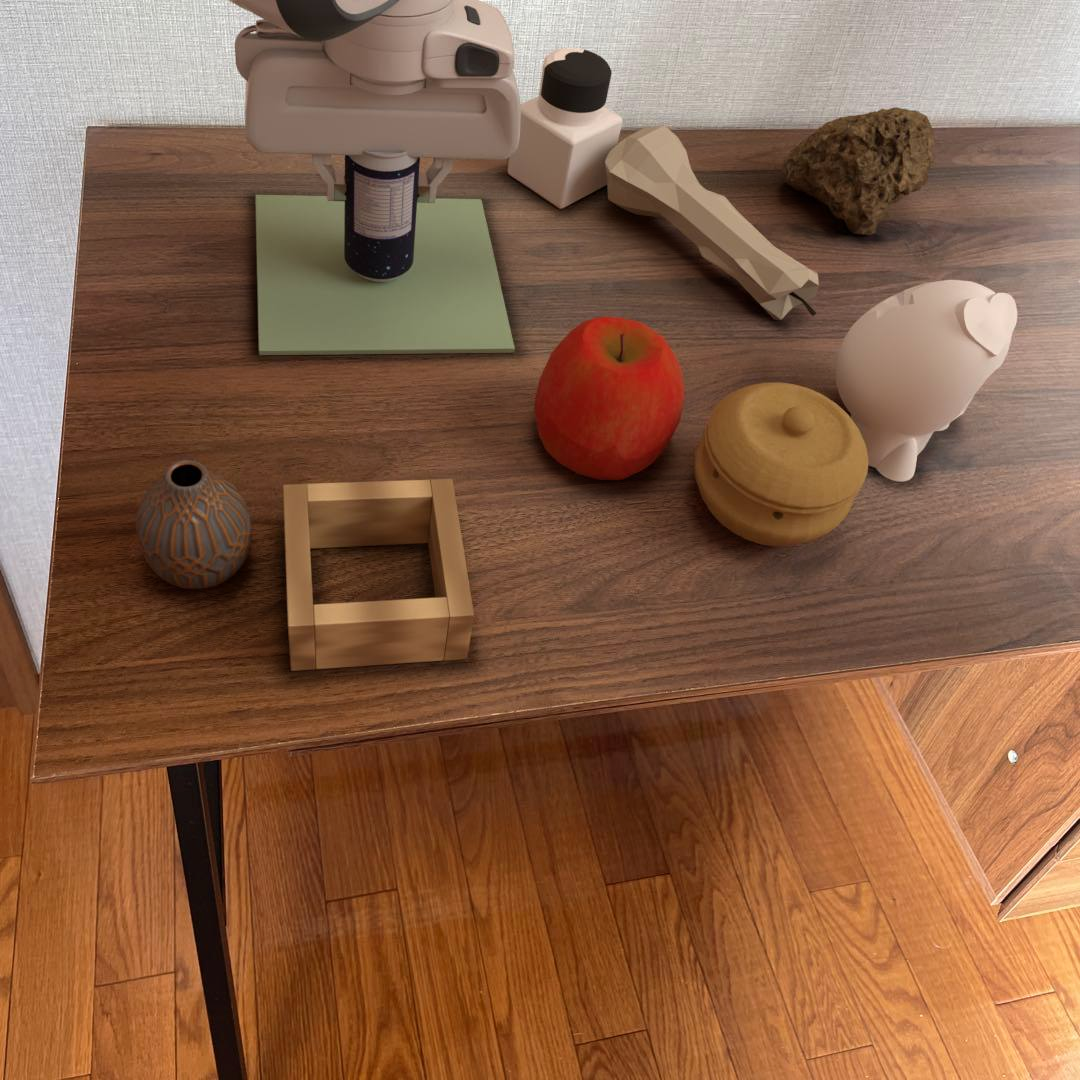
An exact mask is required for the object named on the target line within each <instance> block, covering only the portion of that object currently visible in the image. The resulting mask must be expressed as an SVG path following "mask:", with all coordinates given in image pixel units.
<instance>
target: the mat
mask: <svg viewBox="0 0 1080 1080" xmlns="http://www.w3.org/2000/svg"><path fill="white" fill-rule="evenodd" d="M254 197H255V198H254V199H255V201H254V202H255V243H256V245H255V247H256V285H257V286H256V287H257V289H256V291H257V294H256V295H257V333H258V335H257V336H258V339H257V340H258V341H257V342H258V356H316V355H317V356H322V355H323V356H324V355H325V356H328V355H329V356H330V355H333V356H334V355H337V356H338V355H417V354H418V355H424V354H425V355H427V354H428V355H429V354H431V355H432V354H436V355H437V354H442V355H443V354H509V353H510V354H514V353H515V351H516V348H515V343H514V339H513V335H512V331H511V325H510V322H509V317H508V313H507V308H506V305H505V304H506V303H505V299H504V295H503V291H502V285H501V281H500V277H499V273H498V268H497V264H496V258H495V253H494V249H493V245H492V241H491V237H490V236H491V235H490V233H489V228H488V223H487V217H486V215H485V210H484V206H483V201H482V198H446V197H445V198H443V197H441V198H440V197H439V198H438V197H436V199H435V203H417V212H416V227H415V242H414V258H413V264H412V266H411V268H410V269H409V270H408V271H407V272H406V273H404V274H402V275H401V276H399V277H398V278H396V279H394V280H391V281H387V282H375V281H370V280H367V279H365V278H363V277H361V276H360V275H359V274H358V273H356V272H355V271H354V270H352V269H351V268H350V267H349V266H348V264H347V263H346V261H345V258H344V222H345V201H328V200H327V195H299V194H297V195H295V194H294V195H293V194H292V195H289V194H255V196H254Z"/></svg>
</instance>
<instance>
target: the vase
mask: <svg viewBox="0 0 1080 1080" xmlns="http://www.w3.org/2000/svg"><path fill="white" fill-rule="evenodd" d="M250 513H251V512H250V510H249V507H248V504H247V503H246V501H245V499H244V497H243V495H242V494H241V492H240V491H239V489H237V487H236V486H235V485H234V484H233V483H232V481H230V480H229V479H228V478H226V477H225V476H223V475H221V474H220V473H218V472H216V471H213V470H211V469H208V468H207V467H206V466H205V465H203V464H202V463H201V462H198V461H196V460H193V459H183V460H178V461H176V462H174V463H172V464H171V465H169V467H168V468H167V469H166V471H165V473H164V474H163V475H162V476H161V477H159V478H157V479H156V480H155V481H154V482H153V483H152V484H151V485H150V486H149V487H148V489H147V490H146V492H145V493H144V495H143V496H142V499H141V501H140V504H139V507H138V510H137V516H136V521H135V522H136V524H135V526H136V527H135V529H136V530H135V531H136V539H137V542H138V545H139V548H140V551H141V554H142V556H143V558H144V560H145V561H146V562H147V564H148V566H149V567H150V568H151V570H152V571H153V572H154V573H155V574H156V575H157V576H158V577H160V578H161V579H163V580H164V581H165V582H167V583H169V584H170V585H172V586H175V587H179V588H183V589H188V590H203V589H209V588H213V587H215V586H218V585H220V584H222V583H224V582H226V581H227V580H228V579H230V578H232V577H233V576H234V575H235V574H236V573H237V572H238V571H239V570H240V568H241V567H242V566H243V564H244V562H245V560H246V559H247V556H248V554H249V551H250V547H251V543H252V532H253V531H252V530H253V527H252V519H251V514H250Z"/></svg>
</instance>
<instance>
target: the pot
mask: <svg viewBox="0 0 1080 1080" xmlns="http://www.w3.org/2000/svg"><path fill="white" fill-rule="evenodd" d="M703 433H704V434H703V436H702V437H701V438H700V440H699V442H698V443H697V446H696V450H695V453H694V456H693V469H694V479H695V481H696V484H697V485H696V486H697V488H698V490H699V493H700V496H701V498H702V500H703V502H704V503H705V505H706V507H707V509H708V510H709V512H710V513H711V515H712V516H713V517H714V518H715V519H716V520H717V521H718V522H719V523H720V524H721V525H722V526H723V527H725V528H726V529H727V530H729V531H731V533H733V534H734V535H737V536H739V537H741V538H743V539H745V540H747V541H750V542H753V543H756V544H759V545H763V546H770V547H791V546H797V545H800V544H805V543H809V542H812V541H815V540H817V539H819V538H821V537H823V536H825V535H827V534H828V533H830V532H832V531H834V530H835V529H836V528H837V527H838V526H839V525H840V524H841V523H842V522H843V521H844V520H845V519H846V518H847V516H848V514H849V512H850V510H851V508H852V506H853V503H854V502H853V501H854V498H855V497H856V496H857V495H858V494H859V493H860V491H861V488H862V486H863V485H864V482H865V480H866V477H867V475H868V472H869V465H868V463H869V460H868V454H867V448H866V444H865V442H864V440H863V438H862V435H861V433H860V431H859V429H858V427H857V426H856V424H855V423H854V422H853V421H852V419H851V418H850V415H849V414H848V413H847V412H846V411H845V410H844V409H843V408H842V407H841V406H840V405H839V404H837V403H836V402H834V401H833V400H832V399H830V398H828V397H827V396H826V395H824V394H822V393H820V392H818V391H816V390H813V389H812V388H809V387H806V386H801V385H798V384H795V383H787V382H782V381H781V382H780V381H779V382H777V381H775V382H760V383H755V384H750V385H747V386H744V387H741V388H739V389H737V390H735V391H733V392H730V393H729V394H727V395H726V396H725V397H723V399H721V400H720V401H719V402H717V404H716V406H715V407H714V408H713V410H712V411H711V412H710V414H709V417H708V419H707V421H706V425H705V427H704V432H703Z"/></svg>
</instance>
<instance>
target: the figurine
mask: <svg viewBox="0 0 1080 1080" xmlns="http://www.w3.org/2000/svg"><path fill="white" fill-rule="evenodd" d="M1017 324H1018V308H1017V304H1016V301H1015V299H1014V297H1013V296H1012V295H1011V294H1009V293H1008V292H1007V293H1006V292H995V291H994V290H992V289H991V288H989V287H987V286H984V285H982V284H980V283H977V282H974V281H969V280H961V279H944V280H937V281H931V282H930V281H929V282H924V283H921V284H918V285H915V286H911V287H909V288H906V289H904V290H902V291H900V292H899V293H896V294H894V295H892V296H890V297H887V298H886V299H884V300H882V301H880V302H879V303H877V304H875V305H874V306H873V307H871V308H870V309H869V310H867V311H866V312H864V313H863V314H862V316H860V317H858V319H857V320H856V321H855V322H854V323H853V324H852V325H851V327H850V328H849V330H848V331H847V332H846V334H845V336H844V338H843V339H842V340H841V343H840V346H839V349H838V352H837V357H836V361H835V383H836V389H837V393H838V395H839V397H840V400H841V401H842V404H843V406H845V408H846V410H847V411H848V412H849V413H850V415H849V417H850V418H851V419H852V421H853V422H854V423H855V424H856V426H857V427H858V429H859V431H860V433H861V435H862V438H863V440H864V442H865V444H866V448H867V454H868V460H869V463H868V467H872V468H875V469H876V471H877V472H878V473H879V474H880V475H882V476H883V477H884V478H886V479H888V480H890V481H894V482H902V483H903V482H907V481H910V480H911V479H912V478H913V477H914V475H915V472H916V467H917V459H918V455H920V454H921V452H922V451H923V450H924V449H925V448H926V446H927V444H928V442H929V441H930V439H931V438H932V436H933V434H934V433H935V432H942V431H945V430H947V429H948V428H949V427H950V424H951V423H952V422H953V421H955V420H956V419H958V418H959V417H961V416H962V415H963V414H964V413H965V412H966V410H967V409H968V406H969V405H970V403H972V401H973V400H974V398H975V394H976V393H977V392H979V390H980V389H981V388H982V387H983V385H984V384H985V383H986V381H987V379H988V378H989V377H990V376H992V374H994V372H996V371H997V369H999V368H1001V367H1002V365H1003V363H1004V361H1005V360H1006V357H1007V356H1008V353H1009V350H1010V345H1011V342H1012V337H1013V333H1014V330H1015V328H1016V325H1017Z"/></svg>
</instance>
